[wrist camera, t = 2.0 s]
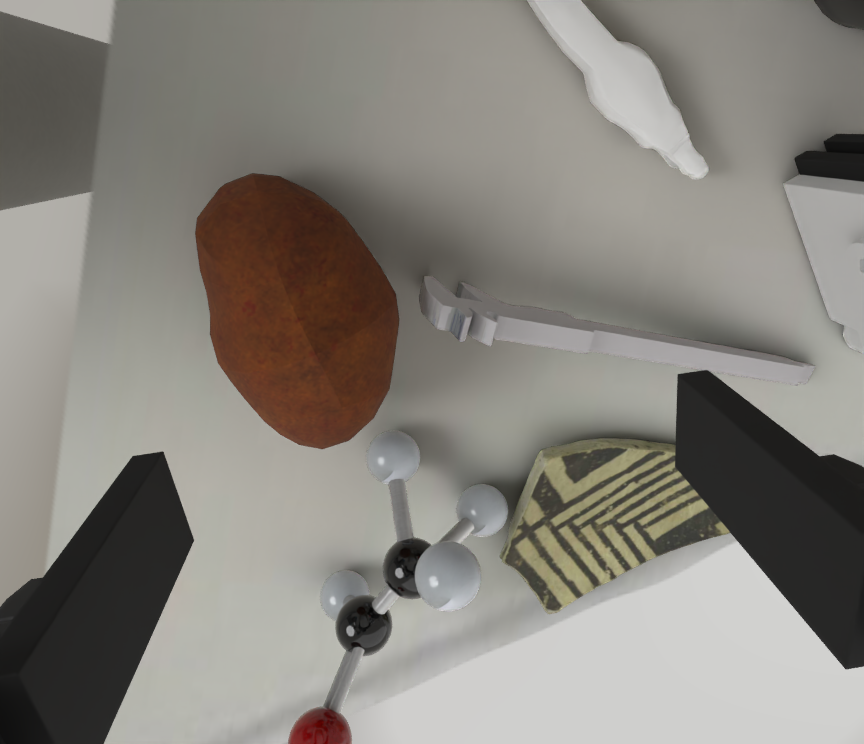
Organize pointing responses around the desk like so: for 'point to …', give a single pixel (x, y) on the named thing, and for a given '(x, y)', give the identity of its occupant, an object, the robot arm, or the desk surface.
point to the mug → (844, 12)
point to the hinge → (834, 227)
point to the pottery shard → (601, 516)
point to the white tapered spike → (621, 83)
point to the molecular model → (398, 578)
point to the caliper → (591, 335)
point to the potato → (296, 309)
